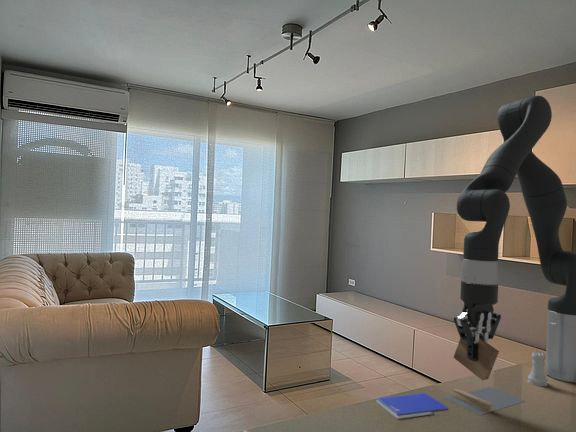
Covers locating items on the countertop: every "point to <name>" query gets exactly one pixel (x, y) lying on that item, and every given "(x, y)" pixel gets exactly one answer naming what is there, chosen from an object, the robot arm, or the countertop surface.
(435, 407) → the hard drive
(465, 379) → the countertop surface
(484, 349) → the walnut board
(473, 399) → the beech rail
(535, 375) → the rook chess piece
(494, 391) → the charcoal mat
